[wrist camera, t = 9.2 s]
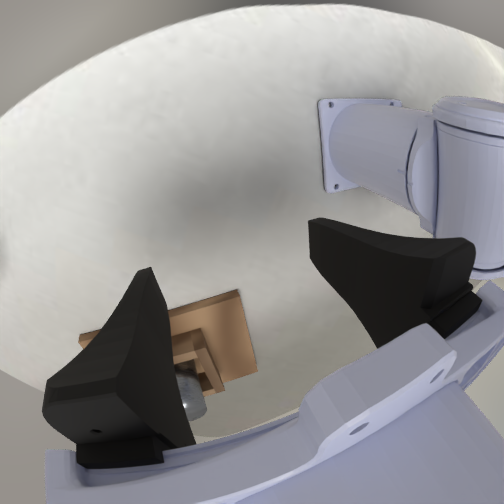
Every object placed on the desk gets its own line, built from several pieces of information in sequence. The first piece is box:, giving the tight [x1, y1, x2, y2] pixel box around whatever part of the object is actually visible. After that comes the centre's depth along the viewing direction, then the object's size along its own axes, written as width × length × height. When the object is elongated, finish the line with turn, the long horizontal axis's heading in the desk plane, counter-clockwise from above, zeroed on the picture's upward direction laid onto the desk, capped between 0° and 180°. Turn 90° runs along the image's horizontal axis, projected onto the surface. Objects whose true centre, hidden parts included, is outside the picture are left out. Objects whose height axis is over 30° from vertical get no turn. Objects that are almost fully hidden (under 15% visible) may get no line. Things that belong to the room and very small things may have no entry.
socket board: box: [78, 290, 258, 397], centre depth 25 cm, size 16×12×4 cm
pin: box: [174, 359, 207, 421], centre depth 23 cm, size 4×4×6 cm
